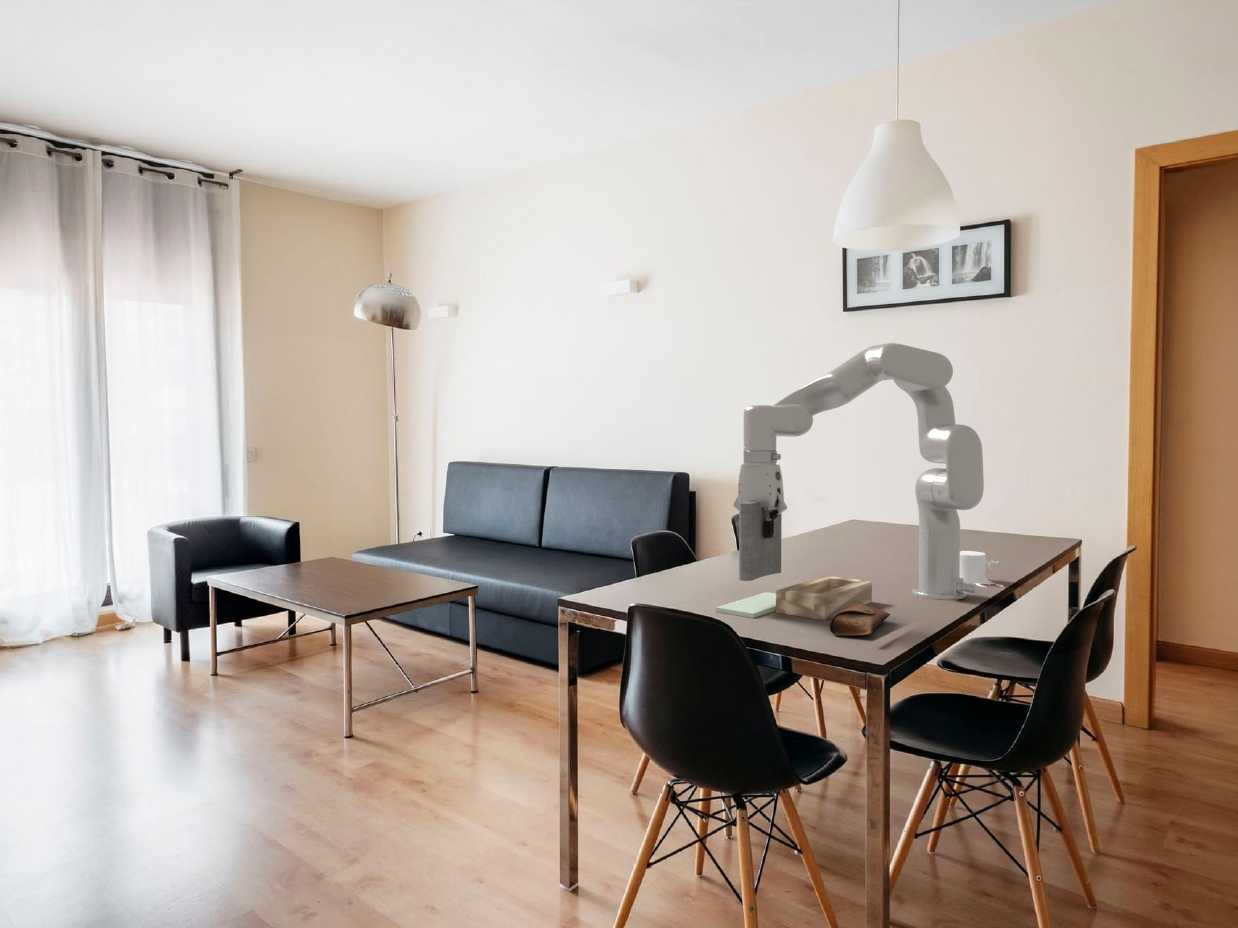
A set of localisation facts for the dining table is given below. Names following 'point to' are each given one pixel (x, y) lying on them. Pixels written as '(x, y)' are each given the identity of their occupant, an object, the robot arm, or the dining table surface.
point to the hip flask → (757, 543)
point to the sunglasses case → (857, 620)
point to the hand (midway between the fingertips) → (759, 536)
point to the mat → (750, 606)
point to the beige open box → (822, 597)
